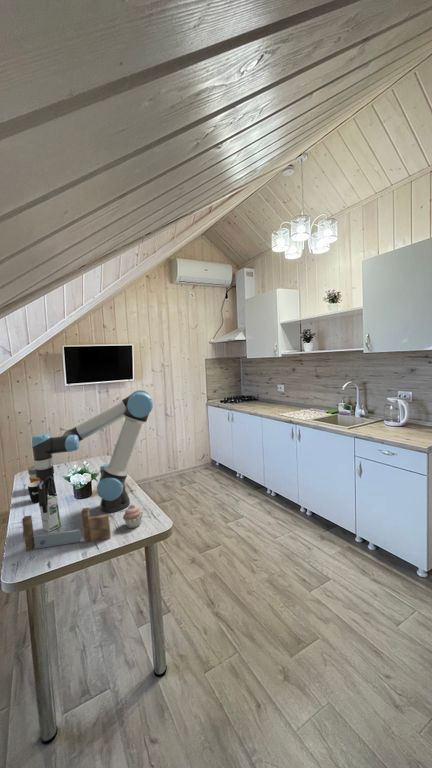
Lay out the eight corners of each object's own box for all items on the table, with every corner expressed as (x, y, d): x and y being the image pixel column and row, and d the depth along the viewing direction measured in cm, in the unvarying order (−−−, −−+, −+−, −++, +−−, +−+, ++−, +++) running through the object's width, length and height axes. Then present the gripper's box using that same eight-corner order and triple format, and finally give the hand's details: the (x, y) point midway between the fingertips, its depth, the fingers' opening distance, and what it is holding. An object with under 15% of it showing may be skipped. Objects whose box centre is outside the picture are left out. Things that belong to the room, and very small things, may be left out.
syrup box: (49, 532, 146) (45, 502, 145) (42, 529, 149) (38, 499, 148) (61, 526, 151) (57, 497, 150) (54, 523, 154) (50, 494, 153)
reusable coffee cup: (57, 487, 203) (54, 464, 201) (37, 495, 192) (34, 471, 191) (46, 484, 209) (43, 462, 208) (26, 492, 199) (23, 468, 198)
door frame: (111, 535, 140) (107, 505, 139) (110, 538, 137) (106, 507, 136) (28, 547, 135) (24, 516, 134) (26, 551, 132) (22, 519, 131)
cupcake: (125, 532, 142) (123, 511, 141) (122, 523, 150) (120, 502, 150) (145, 526, 146) (144, 505, 145) (142, 518, 154) (140, 498, 153)
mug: (29, 505, 178) (27, 488, 177) (30, 499, 186) (28, 483, 185) (53, 499, 184) (51, 482, 183) (53, 494, 192) (51, 478, 191)
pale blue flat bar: (80, 540, 137) (79, 529, 137) (79, 543, 135) (78, 531, 135) (36, 546, 135) (34, 535, 134) (34, 549, 133) (32, 538, 132)
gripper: (44, 461, 157) (49, 505, 159) (26, 476, 137) (32, 526, 139) (60, 459, 158) (65, 503, 160) (44, 473, 138) (50, 524, 140)
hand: (50, 514), depth 150 cm, fingers closed on syrup box, 8 cm apart
